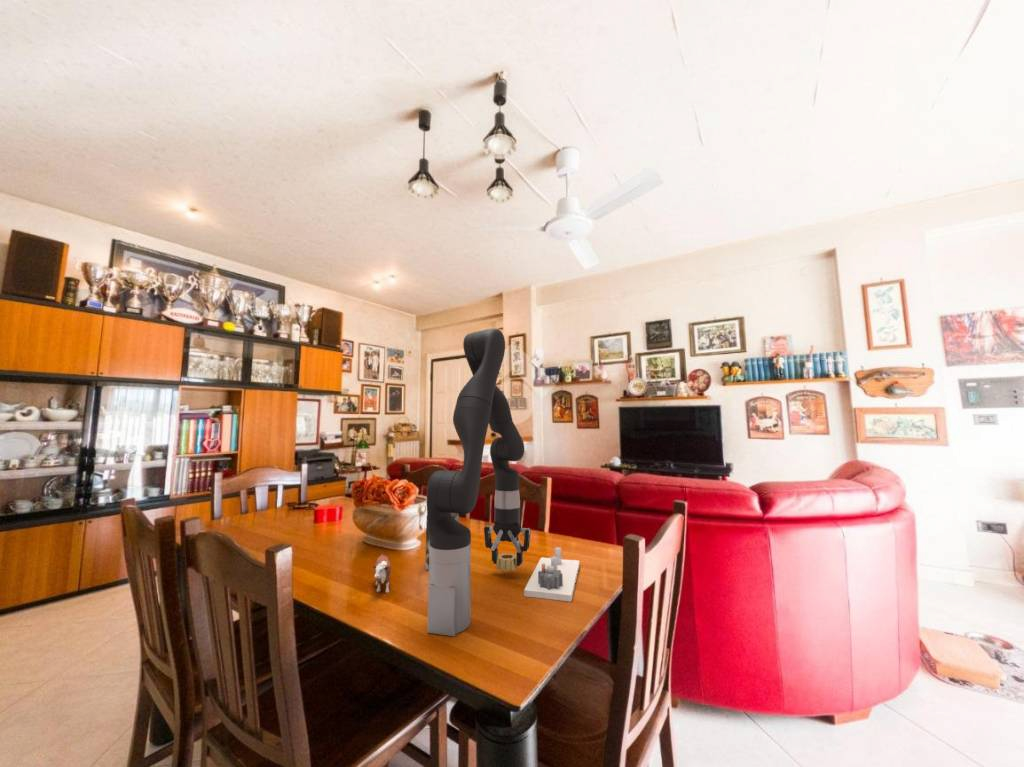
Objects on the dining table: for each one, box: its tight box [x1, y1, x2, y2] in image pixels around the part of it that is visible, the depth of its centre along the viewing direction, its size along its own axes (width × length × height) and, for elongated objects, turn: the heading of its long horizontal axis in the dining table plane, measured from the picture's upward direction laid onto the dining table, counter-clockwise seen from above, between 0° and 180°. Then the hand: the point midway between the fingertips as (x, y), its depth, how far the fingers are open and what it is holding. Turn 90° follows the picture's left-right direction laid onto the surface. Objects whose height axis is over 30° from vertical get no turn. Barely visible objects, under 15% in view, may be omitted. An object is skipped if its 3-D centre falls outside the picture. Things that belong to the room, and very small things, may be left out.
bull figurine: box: [373, 554, 392, 594], centre depth 102 cm, size 4×13×8 cm, turn 15°
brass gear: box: [495, 552, 519, 572], centre depth 110 cm, size 6×6×3 cm
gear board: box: [523, 546, 581, 603], centre depth 107 cm, size 24×12×6 cm, turn 165°
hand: (507, 564), depth 110 cm, fingers closed on brass gear, 6 cm apart
